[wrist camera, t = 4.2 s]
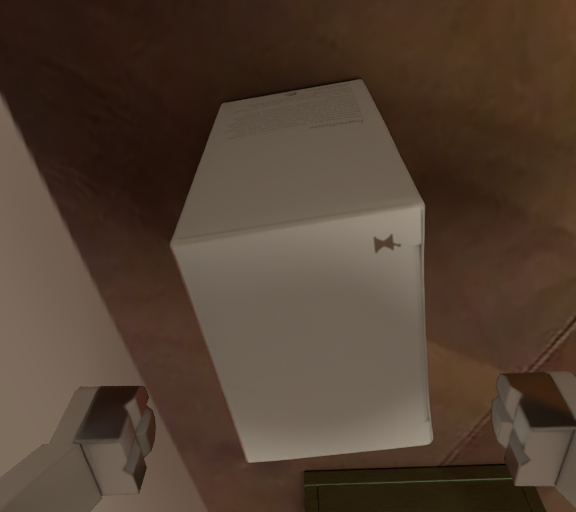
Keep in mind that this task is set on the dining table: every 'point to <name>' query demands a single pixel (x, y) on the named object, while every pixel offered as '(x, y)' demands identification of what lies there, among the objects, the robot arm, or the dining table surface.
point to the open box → (419, 490)
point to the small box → (309, 275)
